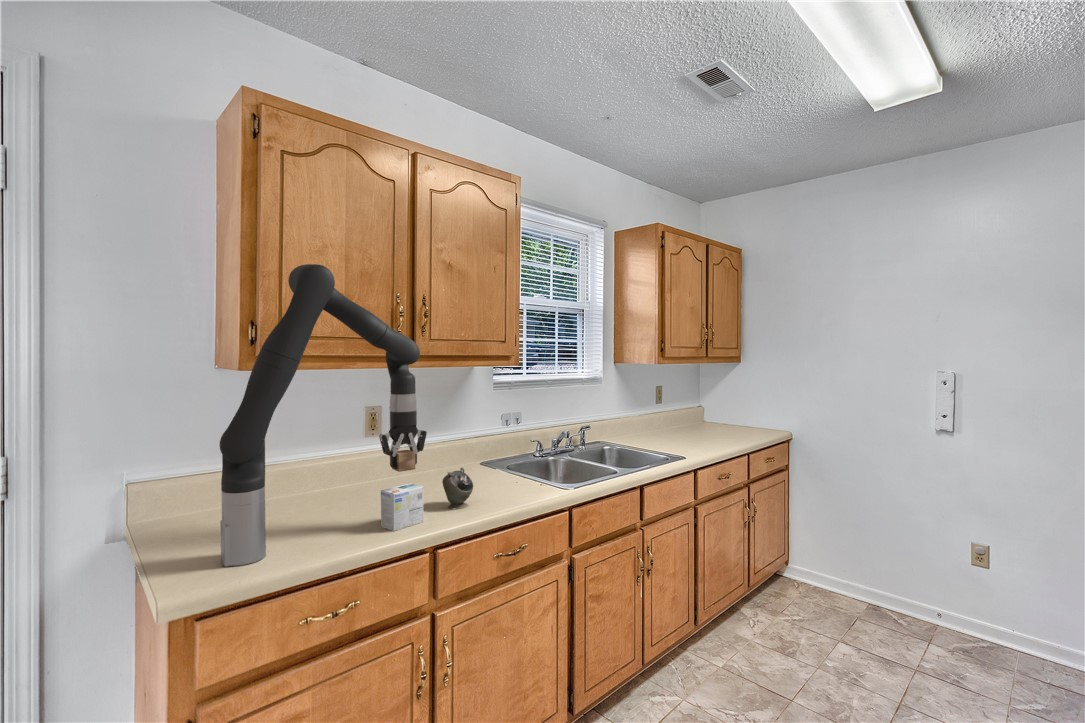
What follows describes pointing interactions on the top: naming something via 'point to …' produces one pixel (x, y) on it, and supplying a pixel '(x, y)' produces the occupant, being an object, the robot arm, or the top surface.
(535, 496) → the top surface
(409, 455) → the walnut cube
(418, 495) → the light bulb box
